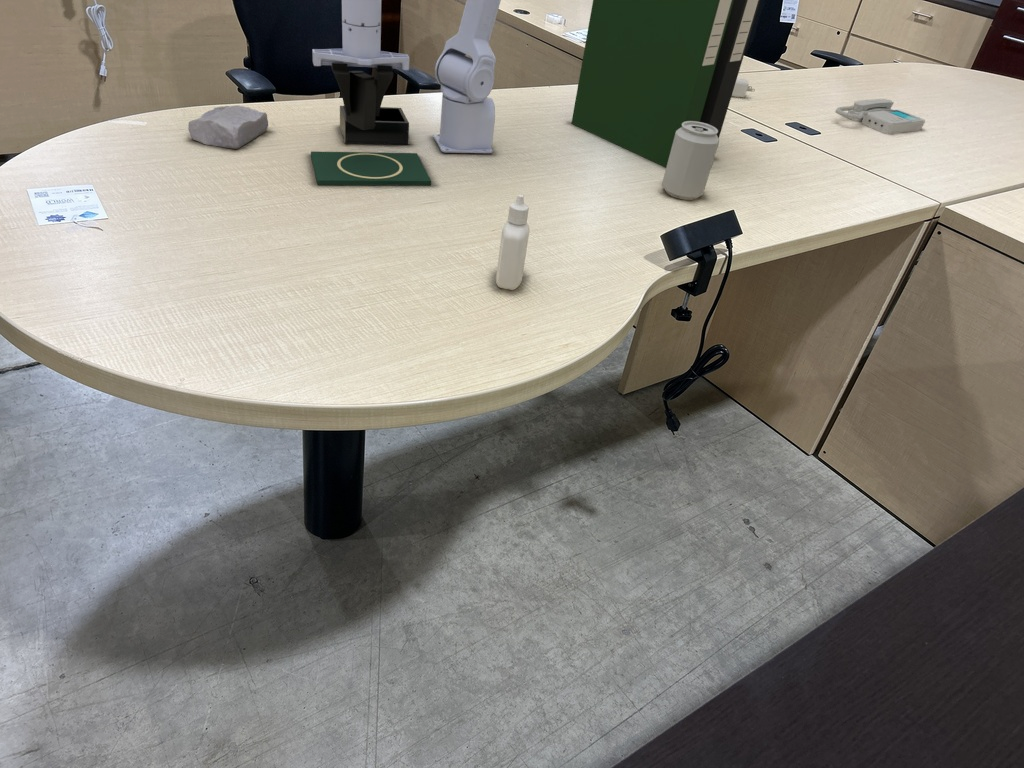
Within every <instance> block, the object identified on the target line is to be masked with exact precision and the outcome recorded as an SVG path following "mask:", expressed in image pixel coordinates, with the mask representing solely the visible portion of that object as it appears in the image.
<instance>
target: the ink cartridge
mask: <svg viewBox="0 0 1024 768" xmlns="http://www.w3.org/2000/svg"><path fill="white" fill-rule="evenodd" d="M349 74H350V107H351V116H348V115H346V121H347V122H348V123H350V124H352V125H354V126H356V127H358V128H359V129H361V130H368V129H374V128H375V126H376V125H375V113H376V95H377V80H376V79H375V78H374V77H373V75H371V74H369V73H366V72H365V71H362V70H349Z"/></svg>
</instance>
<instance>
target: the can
mask: <svg viewBox="0 0 1024 768" xmlns="http://www.w3.org/2000/svg"><path fill="white" fill-rule="evenodd" d="M717 133H718V130H717V129H716V128H715V127H713V126H711V125H709V124H706V123H702V122H697V121H686V122H683V123H682V127H681V128H679V129H678V130H677V131H676V133H675V137H674V141H673V144H672V148H671V152H670V156H669V160H668V163H667V167H665V170H664V171H665V172H664V175H663V179H662V182H661V186H662V187H663V189H664V190H665V193H666V194H667V195H669V196H671V197H673V198H676V199H678V200H679V199H680V200H683V201H684V200H685V201H693V200H696V199H698V198H699V197H701V196H703V195H704V194H705V190H706V188H707V187H706V186H707V183H708V179H709V177H710V174H711V170H712V166H713V163H714V160H715V157H716V153H717V151H718V147H719V144H720V137H719V138H718V136H717Z"/></svg>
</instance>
